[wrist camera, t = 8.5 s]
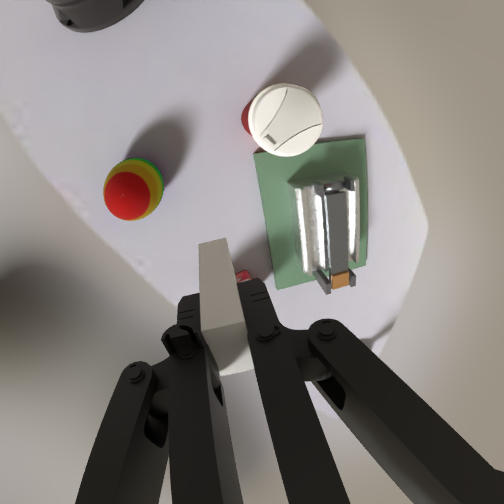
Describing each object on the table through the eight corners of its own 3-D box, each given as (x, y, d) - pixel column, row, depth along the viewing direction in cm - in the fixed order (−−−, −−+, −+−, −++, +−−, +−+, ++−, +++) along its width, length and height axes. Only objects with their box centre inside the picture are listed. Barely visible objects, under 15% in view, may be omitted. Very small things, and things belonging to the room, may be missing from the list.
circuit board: (253, 153, 38) (254, 154, 37) (361, 138, 39) (364, 138, 38) (275, 286, 50) (277, 290, 49) (363, 262, 51) (365, 265, 50)
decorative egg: (173, 161, 37) (164, 175, 28) (159, 213, 40) (149, 241, 31) (120, 149, 34) (96, 160, 25) (110, 201, 37) (87, 227, 29)
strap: (321, 183, 35) (325, 185, 34) (342, 179, 35) (347, 181, 34) (328, 285, 43) (331, 290, 42) (346, 280, 43) (349, 284, 42)
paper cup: (261, 154, 38) (290, 174, 26) (222, 119, 35) (233, 120, 23) (297, 118, 37) (342, 122, 24) (260, 81, 33) (290, 65, 21)
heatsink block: (285, 176, 40) (301, 189, 33) (345, 166, 40) (368, 177, 34) (296, 261, 47) (310, 284, 41) (348, 247, 47) (367, 267, 41)
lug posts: (307, 257, 48) (326, 284, 41) (334, 250, 48) (355, 275, 41) (308, 266, 49) (326, 294, 42) (334, 259, 49) (355, 285, 42)
